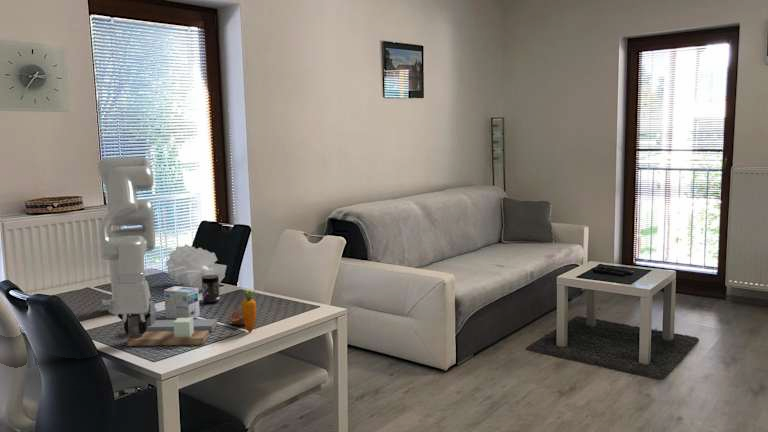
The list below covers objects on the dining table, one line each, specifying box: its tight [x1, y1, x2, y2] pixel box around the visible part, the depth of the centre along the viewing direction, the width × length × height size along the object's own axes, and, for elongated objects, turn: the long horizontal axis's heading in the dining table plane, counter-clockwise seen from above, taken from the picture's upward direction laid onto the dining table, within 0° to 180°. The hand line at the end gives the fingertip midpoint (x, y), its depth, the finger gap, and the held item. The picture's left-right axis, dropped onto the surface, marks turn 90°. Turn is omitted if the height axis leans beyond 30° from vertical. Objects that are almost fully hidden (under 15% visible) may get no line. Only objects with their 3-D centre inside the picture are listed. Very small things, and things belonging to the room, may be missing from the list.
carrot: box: [241, 289, 257, 333], centre depth 222 cm, size 5×5×15 cm
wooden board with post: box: [126, 314, 210, 347], centre depth 213 cm, size 24×8×9 cm, turn 92°
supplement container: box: [201, 275, 221, 305], centre depth 261 cm, size 7×7×10 cm
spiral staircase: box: [165, 243, 228, 292], centre depth 285 cm, size 18×18×25 cm
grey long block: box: [146, 301, 218, 333], centre depth 226 cm, size 24×8×9 cm, turn 92°
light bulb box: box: [163, 285, 201, 320], centre depth 241 cm, size 11×7×11 cm, turn 71°
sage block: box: [174, 318, 194, 337], centre depth 213 cm, size 5×5×5 cm
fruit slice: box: [228, 308, 245, 326], centre depth 231 cm, size 8×7×5 cm
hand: (136, 332), depth 213 cm, fingers open, 4 cm apart
